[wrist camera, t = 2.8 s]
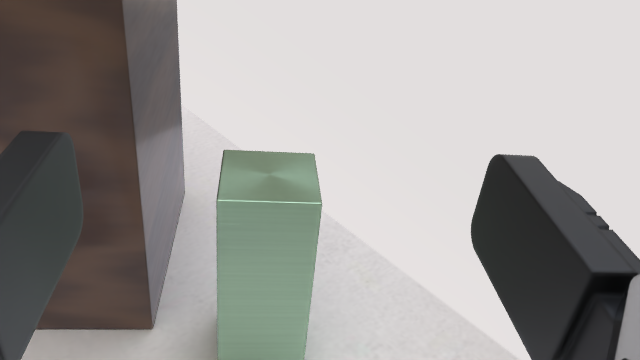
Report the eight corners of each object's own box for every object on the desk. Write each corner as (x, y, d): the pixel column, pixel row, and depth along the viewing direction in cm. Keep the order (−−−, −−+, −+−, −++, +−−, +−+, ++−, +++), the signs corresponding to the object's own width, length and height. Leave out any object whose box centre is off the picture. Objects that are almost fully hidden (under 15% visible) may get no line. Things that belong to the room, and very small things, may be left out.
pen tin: (298, 314, 32) (314, 153, 26) (302, 375, 28) (322, 203, 23) (223, 314, 32) (223, 149, 26) (217, 376, 28) (216, 200, 22)
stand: (185, 192, 42) (167, -220, 29) (153, 329, 30) (96, -265, 17) (49, 188, 41) (-36, -244, 27) (-39, 329, 29) (-267, -312, 15)
